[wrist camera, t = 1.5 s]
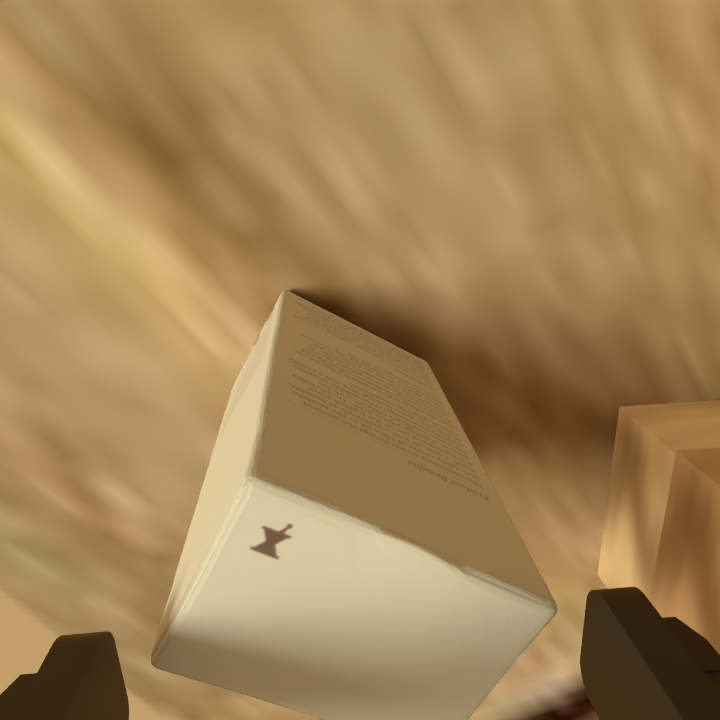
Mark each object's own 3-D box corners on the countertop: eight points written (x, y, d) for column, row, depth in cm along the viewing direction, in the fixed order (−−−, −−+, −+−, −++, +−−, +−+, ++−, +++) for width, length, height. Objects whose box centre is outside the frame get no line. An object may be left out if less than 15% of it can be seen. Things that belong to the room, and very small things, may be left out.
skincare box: (230, 387, 21) (132, 668, 10) (283, 284, 20) (243, 466, 8) (376, 454, 22) (441, 769, 11) (434, 362, 21) (572, 606, 10)
